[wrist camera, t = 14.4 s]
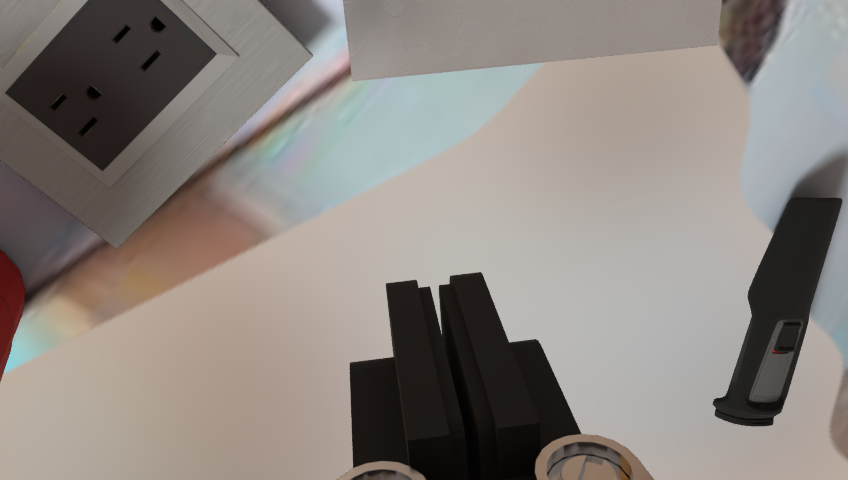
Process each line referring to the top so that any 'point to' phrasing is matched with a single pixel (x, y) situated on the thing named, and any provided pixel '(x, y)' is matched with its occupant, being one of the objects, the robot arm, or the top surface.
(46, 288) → the top surface
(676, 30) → the socket plate
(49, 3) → the electrical outlet
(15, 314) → the plastic cup
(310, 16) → the top surface
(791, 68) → the top surface
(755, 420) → the electric trimmer
